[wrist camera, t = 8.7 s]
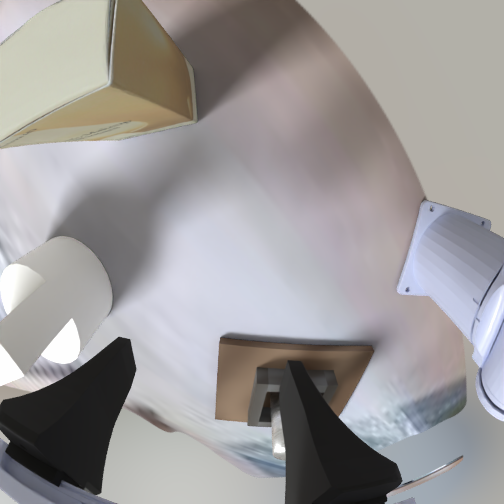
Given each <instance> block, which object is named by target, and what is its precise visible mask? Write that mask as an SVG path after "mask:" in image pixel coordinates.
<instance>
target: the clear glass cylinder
mask: <svg viewBox="0 0 504 504" xmlns="http://www.w3.org/2000/svg"><path fill="white" fill-rule="evenodd" d="M270 404H271V425H272V447H273V456H274V457H275V458H277V459H280V460H286V454H285V444H284V437H283V430H282V423H281V415H280V408H279V392H270Z"/></svg>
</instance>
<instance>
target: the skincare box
mask: <svg viewBox="0 0 504 504" xmlns="http://www.w3.org/2000/svg"><path fill="white" fill-rule="evenodd" d="M194 123H197V105H196V93H195V82H194V72H193V68H192V67H191V65H190V64H189V62H188V61H187V60H186V58H185V57H184V55H183V54H182V53H181V51H180V50H179V48H178V47H177V46H176V44H175V43H174V42H173V40H172V39H171V38H170V36H169V35H168V34H167V32H166V31H165V30H164V28H163V27H162V26H161V25H160V23H159V22H158V21H157V19H156V18H155V17H154V15H153V14H152V13H151V12H150V10H149V9H148V8H147V7H146V5H145V4H144V3H143V2H142V0H60V1H58V2H56V3H55V4H53V5H51V6H49V7H47V8H45V9H44V10H42V11H41V12H39V13H38V14H36V15H35V16H34V17H32V18H31V19H30V20H28V21H27V22H26V23H25V24H24V25H23V26H21V27H20V28H19V29H17V30H16V31H15V32H14V33H12V34H11V35H10V36H9V37H7V38H6V39H5V40H4V41H3V42H2V43H0V149H4V148H10V147H17V146H25V145H33V144H44V143H56V142H73V141H119V140H123V139H128V138H132V137H137V136H141V135H146V134H150V133H154V132H159V131H163V130H167V129H171V128H176V127H180V126H185V125H189V124H194Z"/></svg>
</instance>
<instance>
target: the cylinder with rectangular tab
mask: <svg viewBox="0 0 504 504" xmlns="http://www.w3.org/2000/svg"><path fill="white" fill-rule="evenodd" d="M0 290H1V297H2V301H3V304H4V308H5V310H6V313H7V316H6V317H5V318H4V319H3V320H2V321H1V322H0V386H1V385H4V384H6V383H9V382H11V381H14V380H16V379H18V378H21V377H23V376H25V375H26V373H27V372H28V371H29V369H30V368H31V367H32V366H33V364H34V363H35V362H36V360H37V359H38V358H39V357H40V355H42V356H43V357H45V358H47V359H49V360H51V361H54V362H57V363H62V364H65V363H71V362H73V361H74V360H75V359H77V357H78V356H79V355H80V353H81V352H82V350H83V349H84V347H85V346H86V345H87V343H88V342H89V340H90V339H91V338H92V336H93V335H94V333H95V332H96V331H97V329H98V328H99V327H100V325H101V324H102V323H103V321H104V320H105V319H106V317H107V316H108V314H109V312H110V310H111V307H112V301H113V295H112V286H111V283H110V280H109V277H108V274H107V272H106V271H105V269H104V267H103V265H102V263H101V262H100V260H99V259H98V258H97V257H96V255H95V254H94V253H93V252H92V251H91V250H90V249H89V248H88V247H87V246H85V245H84V244H83V243H82V242H80V241H78V240H76V239H74V238H71V237H66V236H59V237H54V238H52V239H50V240H49V241H47V242H45V243H44V244H42V245H40V246H39V247H37V248H35V249H34V250H32V251H30V252H29V253H27V254H26V255H24V256H23V257H21V258H19V259H18V260H16V261H15V262H13V263H12V264H10V265H9V266H8V267H7V268H5V269H4V271H3V274H2V276H1V283H0Z"/></svg>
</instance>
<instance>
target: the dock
mask: <svg viewBox="0 0 504 504" xmlns="http://www.w3.org/2000/svg"><path fill="white" fill-rule="evenodd" d="M373 353H374V350H373V348H372V346H331V345H303V344H285V343H271V342H259V341H248V340H238V339H229V338H220V342H219V356H218V373H217V392H216V412H215V419H218V420H227V421H238V422H248V426H257V427H272V425H271V404H270V392H279V388H280V384H281V381H282V378H283V374H284V371H285V367H286V364H287V360H293V361H301V362H302V363H303V365H304V367H305V368H306V370H307V372H308V374H309V376H310V377H311V379H312V381H313V382H314V384H315V386H316V387H317V389H318V390H319V392H320V393H321V395H322V396H323V398H324V399H325V401H326V402H327V403H328V405H329V406H330V407H331V409H332V410H333V411H334V413H335V414H336V415H337V416H338V417H339V415H340V413H341V412H342V410H343V408H344V407H345V405H346V403H347V402H348V400H349V398H350V396H351V395H352V393H353V391H354V389H355V388H356V386H357V384H358V382H359V380H360V378H361V376H362V375H363V373H364V371H365V369H366V367H367V365H368V363H369V361H370V359H371V357H372V355H373Z"/></svg>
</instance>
